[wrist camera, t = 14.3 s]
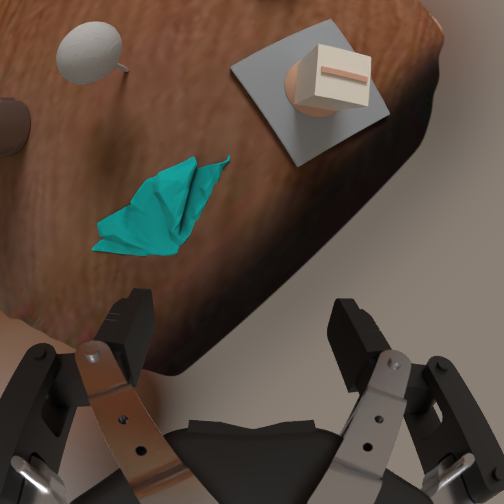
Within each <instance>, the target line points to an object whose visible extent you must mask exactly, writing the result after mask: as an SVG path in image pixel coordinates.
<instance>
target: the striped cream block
mask: <svg viewBox="0 0 504 504" xmlns="http://www.w3.org/2000/svg"><path fill="white" fill-rule="evenodd" d="M370 72H371V57H369V56H366V55H362V54H359V53H355V52H351V51H348V50H344V49H340V48H335V47H331V46H327V45H322V44H318V45H317V46H316V47H315V48H314V49H313V50H312V51H311V52H310V53H309V54H308V55H307V56H306V57H305V58H304V59H303V60H302V61H301V62H300V63H299V64H298V66H297V78H296V90H295V101H294V104H297V105H304V106H310V107H316V108H322V109H328V110H333V111H339V110H346V109H353V108H360V107H368V102H369V89H370Z"/></svg>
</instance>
